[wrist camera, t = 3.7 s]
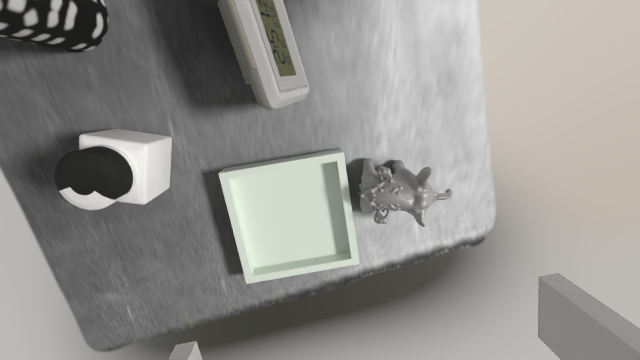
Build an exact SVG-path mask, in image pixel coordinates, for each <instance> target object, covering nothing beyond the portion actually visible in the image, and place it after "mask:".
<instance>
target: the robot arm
mask: <svg viewBox="0 0 640 360" xmlns="http://www.w3.org/2000/svg"><path fill="white" fill-rule="evenodd" d="M538 294H539V295H538V297H539V298H538V299H539V300H538V337H539V338H540V339H541V340H542V341H543V342H544V343H545V344H546V345H547V346H548V347H549V348H550V349H551V350H552V351H553V352H554V353H555V354H556V355H557V356H558V357H559V358H560V359H561V360H640V328H638V327H637V326H635V325H634V324H632V323H631V322H629V321H628V320H626V319H625V318H624V317H622V316H621V315H619V314H618V313H616V312H615V311H613V310H612V309H610V308H609V307H607V306H606V305H604V304H603V303H601V302H600V301H598V300H597V299H595V298H594V297H592V296H591V295H590V294H588V293H587V292H585V291H584V290H582V289H581V288H579V287H578V286H576V285H575V284H573V283H572V282H571V281H569V280H568V279H566V278H565V277H563V276H562V275H560V274H559V273H557V274H551V275H546V276H541V277H539V292H538ZM169 360H202V357H201V354H200V351H199V348H198V345H197V342H196V341H195V342H189V343H184V344H179V345H176V346H175V348H174V350H173V352H172V354H171V356H170V358H169Z"/></svg>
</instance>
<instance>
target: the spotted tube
mask: <svg viewBox="0 0 640 360" xmlns="http://www.w3.org/2000/svg"><path fill="white" fill-rule="evenodd" d="M107 29H108V13H107V9H106V6H105V3H104V1H103V0H0V37H2V38H7V39H12V40H17V41H22V42H27V43H32V44H37V45H42V46H46V47H51V48H56V49H61V50H66V51H71V52H85V51H88V50H91V49H93V48H95V47H96V46H98V45H99V44H100V43H101V42H102V40H103V39H104V37H105V35H106V32H107Z"/></svg>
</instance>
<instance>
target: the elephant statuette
mask: <svg viewBox="0 0 640 360" xmlns="http://www.w3.org/2000/svg"><path fill="white" fill-rule="evenodd" d="M362 165H363V175H362V177H361V183H360V184H359V188H360V189H361V191H360V192H358V195H359V196H360V208H361V211H362V212H363V213H368V212H370V211H372V210H377V212H376V214H375V216H374V221H375V222H376V223H379V224H382V223H383V224H385V223H386V222H387V219H388V217H389V214H390V212H391V211H398V210H401V211H406V212H408V213H410V214H412V215H413V216H414V218H415V219H416V221H417V223H418V224H419V225H421V226H423V227H425V225H424V224H423V219H424V216H425V212H426V210H427V208H428V207H429V206H430V205H431V204H432V203H433V202H434V201H436V200H445V199H449V198H451V196H452V190H450V189H447V190H446V193H443V194H438V193H435V192H434V191H433V190H432V189H431V187H430V185H429V183H428V178H429V176H430V174H431V168H430V167H425V168H423V169H422V170H421V171H420V172H419V174H418V175H417V176H415V175H414V174H412V173H411V172H410V171H409V170H408V169H406V168H405V166H404V163H403V162H402V161H401V160H397V161H395V162H394V164H393V166H392V168H393V170H394V173H395V174H394V175H392V174H391V170H390V169H389V168H386V167H384V166H380V167H379V168H378V169H377V171H376V170H375V168H374V162H373V160H372V159H369V158H368V159H365V160H364V161H363V164H362ZM386 175H387V176H386ZM385 209H386V210H387V214H386V216H384V217H383V216H382V215H381V213H380V210H382V212H384V210H385Z"/></svg>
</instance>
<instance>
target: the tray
mask: <svg viewBox="0 0 640 360" xmlns="http://www.w3.org/2000/svg"><path fill="white" fill-rule="evenodd" d="M218 174H219V178H220V182H221V185H222V189H223V193H224V197H225V201H226V205H227V209H228V213H229V217H230V221H231V225H232V229H233V233H234V237H235V241H236V245H237V248H238V252H239V256H240V260H241V264H242V268H243V272H244V276H245V280H246V284H248V283H254V282H259V281H265V280H271V279H277V278H282V277H288V276H294V275H299V274H305V273H311V272H316V271H322V270H328V269H333V268H339V267H345V266H350V265H356V264H360V262H359V255H358V248H357V241H356V234H355V227H354V220H353V213H352V206H351V199H350V192H349V185H348V178H347V171H346V164H345V157H344V152H343V151H342V149H341V148H340V149H335V150H329V151H323V152H317V153H311V154H305V155H299V156H293V157H287V158H282V159H276V160H270V161H264V162H258V163H252V164H246V165H240V166H235V167H229V168H224V169H223V170H222V171H221V172H219V173H218Z"/></svg>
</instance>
